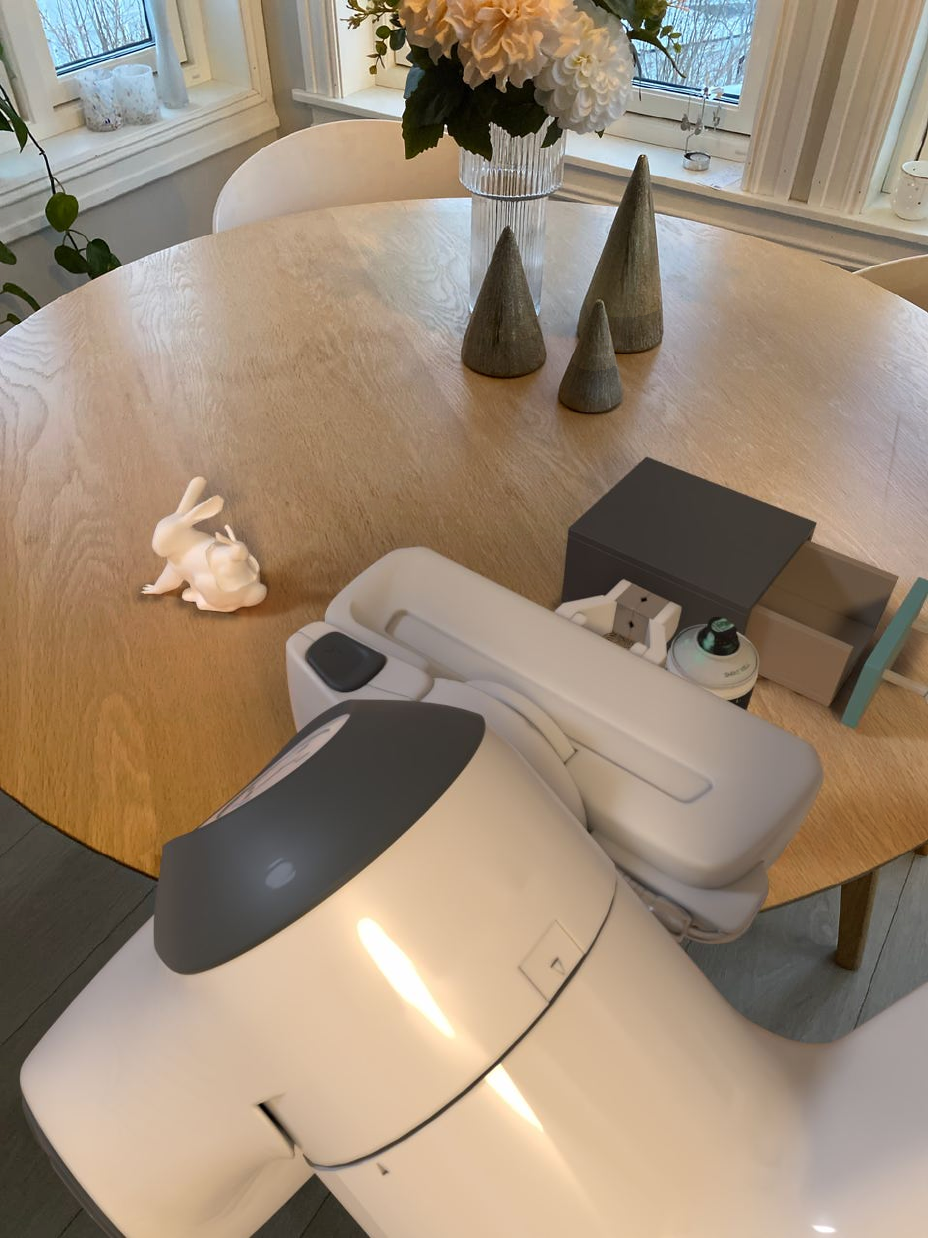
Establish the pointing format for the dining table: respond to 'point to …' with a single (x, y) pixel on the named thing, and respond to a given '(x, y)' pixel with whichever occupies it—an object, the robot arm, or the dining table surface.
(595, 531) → the cabinet
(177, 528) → the rabbit figurine
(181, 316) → the dining table surface
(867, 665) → the drawer
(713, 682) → the spray can
